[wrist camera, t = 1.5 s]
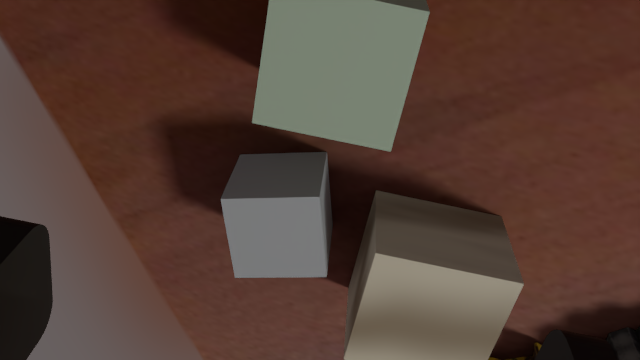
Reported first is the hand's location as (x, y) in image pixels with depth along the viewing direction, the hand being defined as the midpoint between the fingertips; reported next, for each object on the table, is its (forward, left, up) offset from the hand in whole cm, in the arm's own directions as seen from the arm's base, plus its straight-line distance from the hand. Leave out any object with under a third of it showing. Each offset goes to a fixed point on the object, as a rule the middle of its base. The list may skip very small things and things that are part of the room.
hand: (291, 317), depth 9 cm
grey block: (+8, -1, -17) cm, 19 cm away
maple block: (+10, +6, -17) cm, 20 cm away
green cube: (0, 0, -17) cm, 17 cm away
